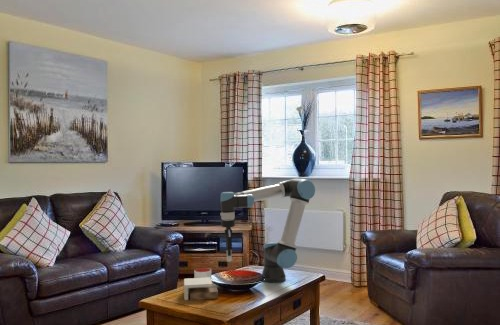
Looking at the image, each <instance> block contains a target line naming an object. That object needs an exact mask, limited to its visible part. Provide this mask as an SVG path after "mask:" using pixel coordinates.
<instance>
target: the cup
mask: <svg viewBox="0 0 500 325" xmlns="http://www.w3.org/2000/svg"><path fill="white" fill-rule="evenodd" d="M193 270H194V272H193V273H194V274H193V275H194V277H193V278H207V277H211V278H212V269H211V268H207V267H203V268H196V269H193Z"/></svg>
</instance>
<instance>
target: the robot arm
mask: <svg viewBox="0 0 500 325" xmlns="http://www.w3.org/2000/svg"><path fill="white" fill-rule="evenodd" d="M315 194H316V186H315V185H314V183H313V181H311V180H310V179H305V178H291V179H288V180H284V181H279V182H277V184H274V185H273V184H272V185H268V186H262V187H258V188H253V189H248V190H243V191H239V192H233V191H223V192H221V193H220V200H219V201H220V213H219V214H220V216H221V217H220V219H221V221H220V222H221V227H222V228H225V229H224V236H225V251H226V262H229V263H230V262H232V261H233V258H232V257H233V254H232V252H233V242H232V241H233V230H232V228H233V227H235V226H236V222H235V221H236V220H235V212H236V211H235V209H243V208H244V209H246V208H253V207H254V206H255V202H259V201H264V200H268V199H272V198H273V199H274V198H279V197H280V198H285V197H286V198H287V197H289V200H290V201H291V203H290V205H289V209H288V213H287V215H286V221H285V225H284V228H283V231H282V236H281V238H280V239H279V241H272V242H266V243H265V242H264V244H263V270H262V273H261V275H264V276H265V281H264V282H266V283H280V282H281V283H282V282H285V281H286V278H287V277H286V273H285V270H284V269H290V268H292V267H294V265H295V264H296V263H297V260H298V255H297V252H296V250H297V246H296V240H297V236H298V234H299V229H300V226H301V223H302V220H303V219H302V218H303V215H304V212H305V207H306V206H307V205H308V204H309V201H310V199H312V198H313V197H314V196H315Z"/></svg>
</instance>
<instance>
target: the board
mask: <svg viewBox="0 0 500 325" xmlns="http://www.w3.org/2000/svg"><path fill="white" fill-rule="evenodd" d="M196 299H197V300H209V299H212V300H213V299H219V290H218V287H217V286H212V287H209V288H192V289H190V293H189V300H190V301H194V300H196Z"/></svg>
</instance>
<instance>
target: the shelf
mask: <svg viewBox="0 0 500 325" xmlns="http://www.w3.org/2000/svg"><path fill="white" fill-rule="evenodd" d="M209 287H213V280H212V276H211V277H207V278H194V277H193V278H191V277H190V278H189V277H188V278H184V279H183V288H184V289H183V290H184V291H183V292H184V296H183V297H184V301H189V294H190V289H192V288H209Z"/></svg>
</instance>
